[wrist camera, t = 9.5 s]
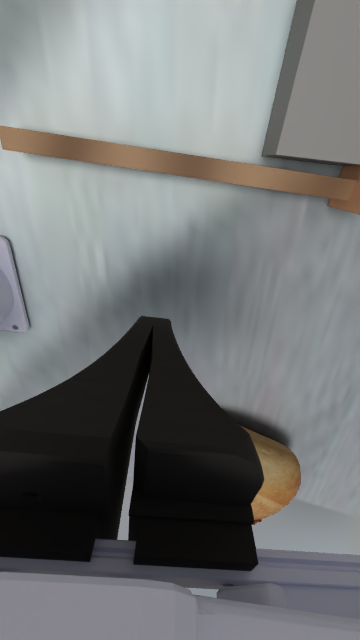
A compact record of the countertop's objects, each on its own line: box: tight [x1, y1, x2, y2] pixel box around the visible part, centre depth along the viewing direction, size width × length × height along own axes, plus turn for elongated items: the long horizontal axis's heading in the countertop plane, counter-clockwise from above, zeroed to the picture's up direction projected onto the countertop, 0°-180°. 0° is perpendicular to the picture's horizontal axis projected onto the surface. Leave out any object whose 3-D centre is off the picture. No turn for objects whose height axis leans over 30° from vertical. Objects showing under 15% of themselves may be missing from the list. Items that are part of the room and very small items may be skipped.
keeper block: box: [261, 0, 360, 166], centre depth 12 cm, size 5×6×3 cm
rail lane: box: [0, 126, 360, 215], centre depth 11 cm, size 20×11×4 cm, turn 83°
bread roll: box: [241, 426, 301, 525], centre depth 26 cm, size 10×15×8 cm, turn 63°
